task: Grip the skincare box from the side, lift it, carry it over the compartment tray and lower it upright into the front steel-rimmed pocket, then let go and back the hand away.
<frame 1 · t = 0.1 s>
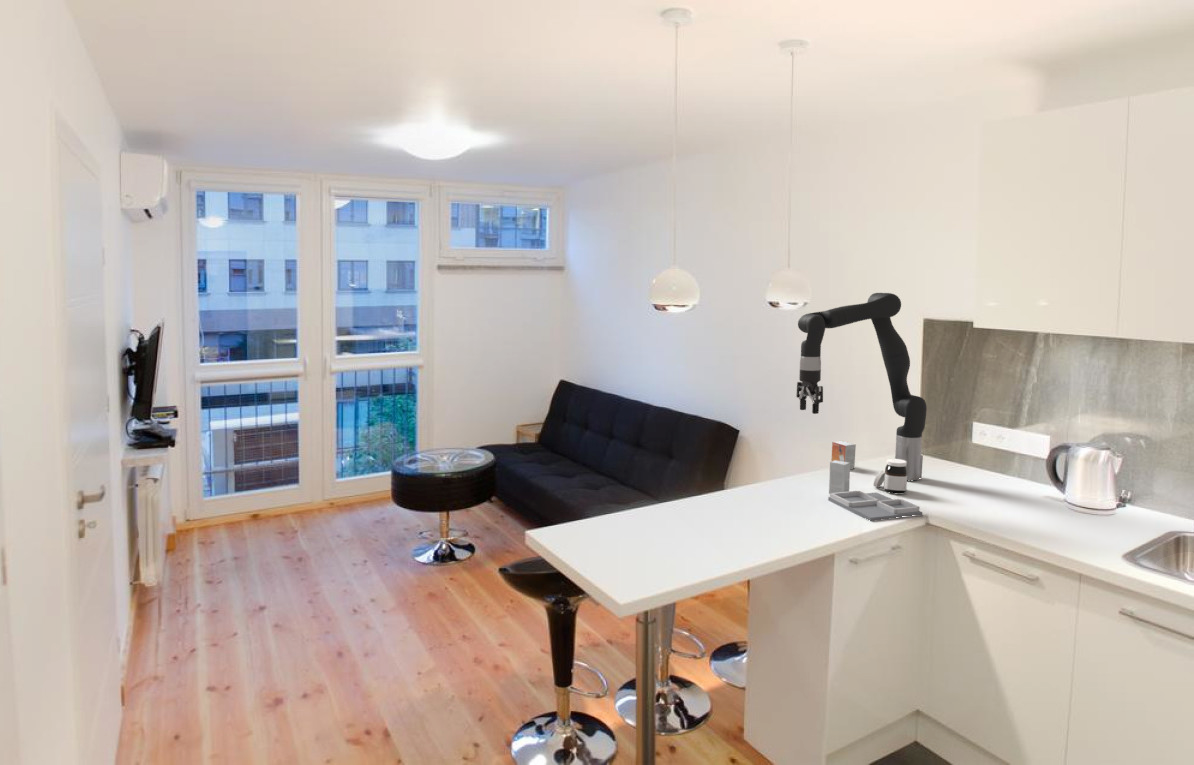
hand: (809, 411, 274), 29 cm above the countertop, tool pointing down, fingers open, 8 cm apart
skincare box: (838, 494, 270), on the countertop
small box: (842, 468, 308), on the countertop
compartment tray: (873, 507, 254), on the countertop
spread jar: (889, 490, 275), on the countertop
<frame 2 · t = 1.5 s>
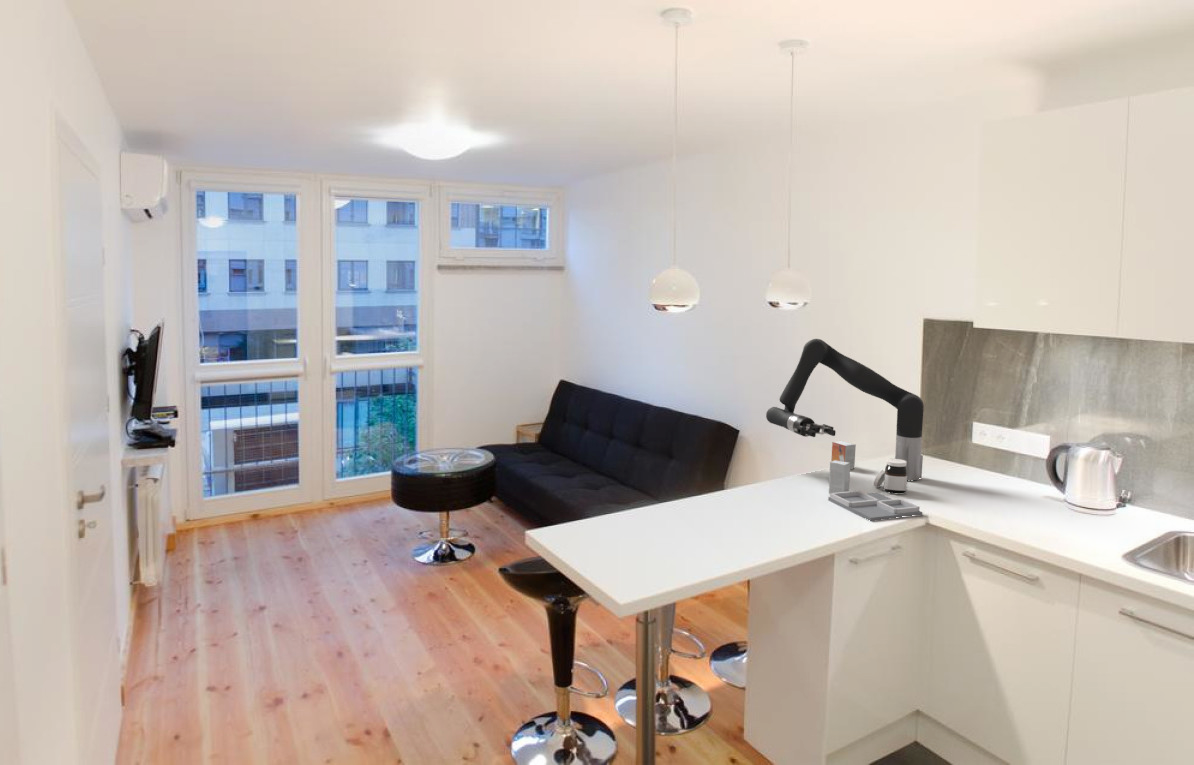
hand: (824, 433, 277), 20 cm above the countertop, tool horizontal, fingers open, 8 cm apart
nothing on the countertop moved.
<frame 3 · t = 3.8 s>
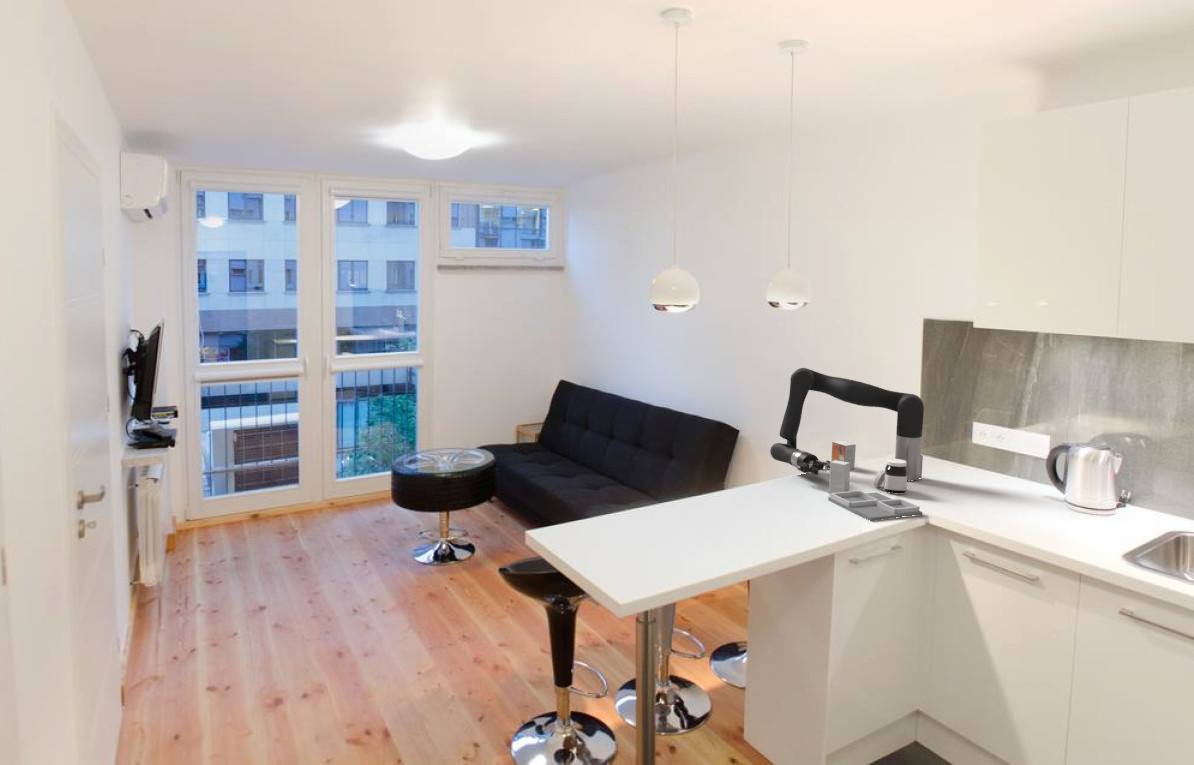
hand: (827, 471, 276), 7 cm above the countertop, tool horizontal, fingers open, 8 cm apart
nothing on the countertop moved.
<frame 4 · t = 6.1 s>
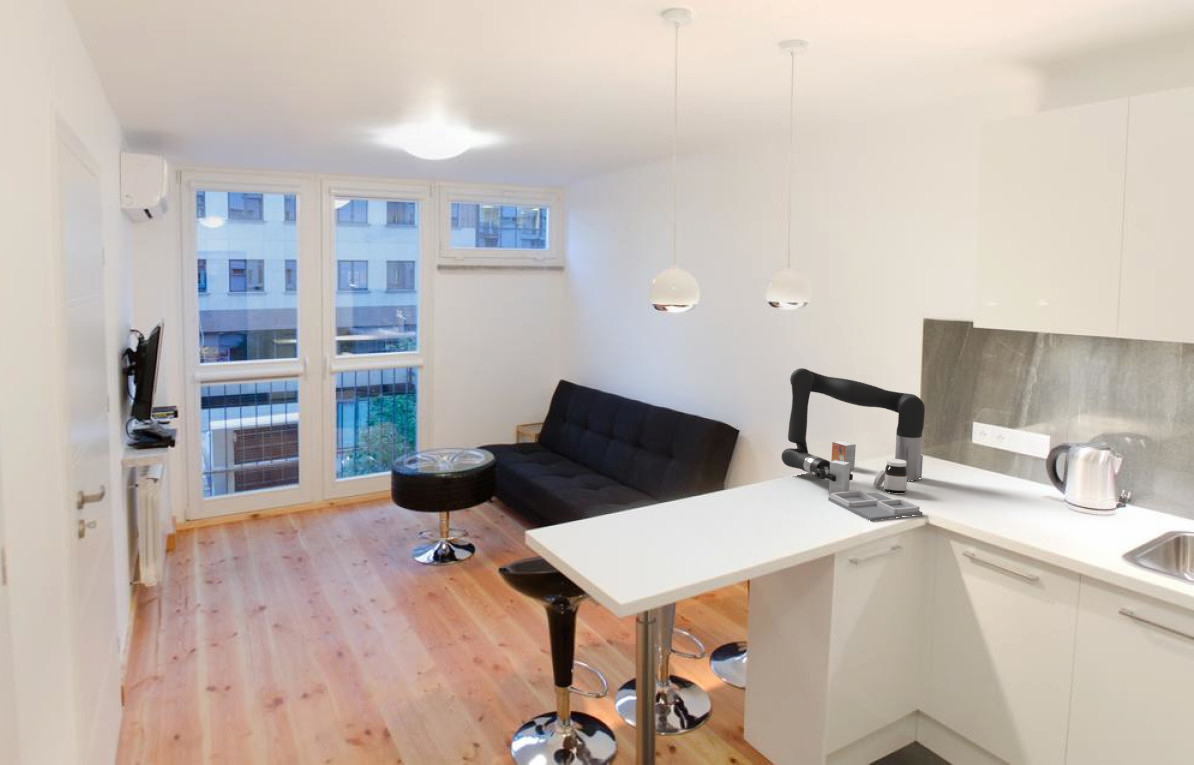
hand: (843, 478, 267), 7 cm above the countertop, tool horizontal, fingers closed on skincare box, 6 cm apart
skincare box: (838, 494, 270), on the countertop, touching gripper
everything else where it was.
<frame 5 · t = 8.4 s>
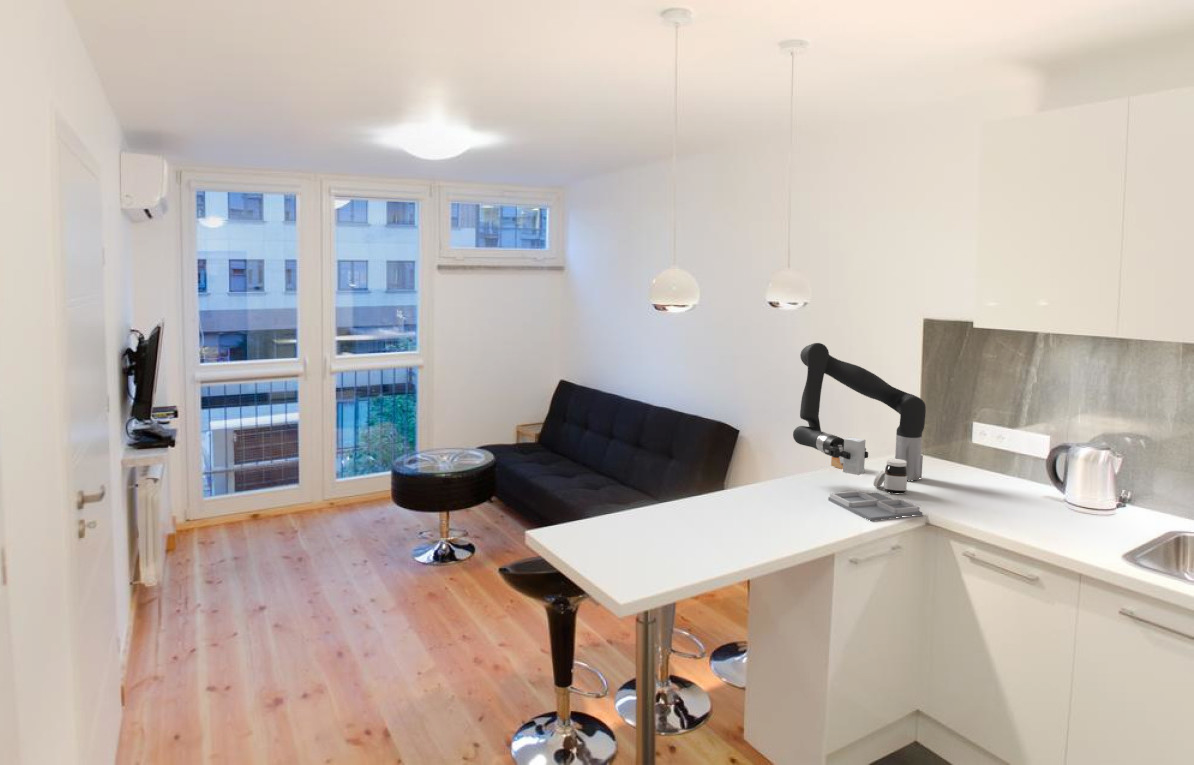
hand: (858, 455, 254), 18 cm above the countertop, tool horizontal, fingers closed on skincare box, 6 cm apart
skincare box: (853, 473, 257), point 11 cm above the countertop, touching gripper
everything else where it was.
when the fingers open (8 cm above the countertop, at t = 11.2 s): skincare box stays where it is, resting on compartment tray.
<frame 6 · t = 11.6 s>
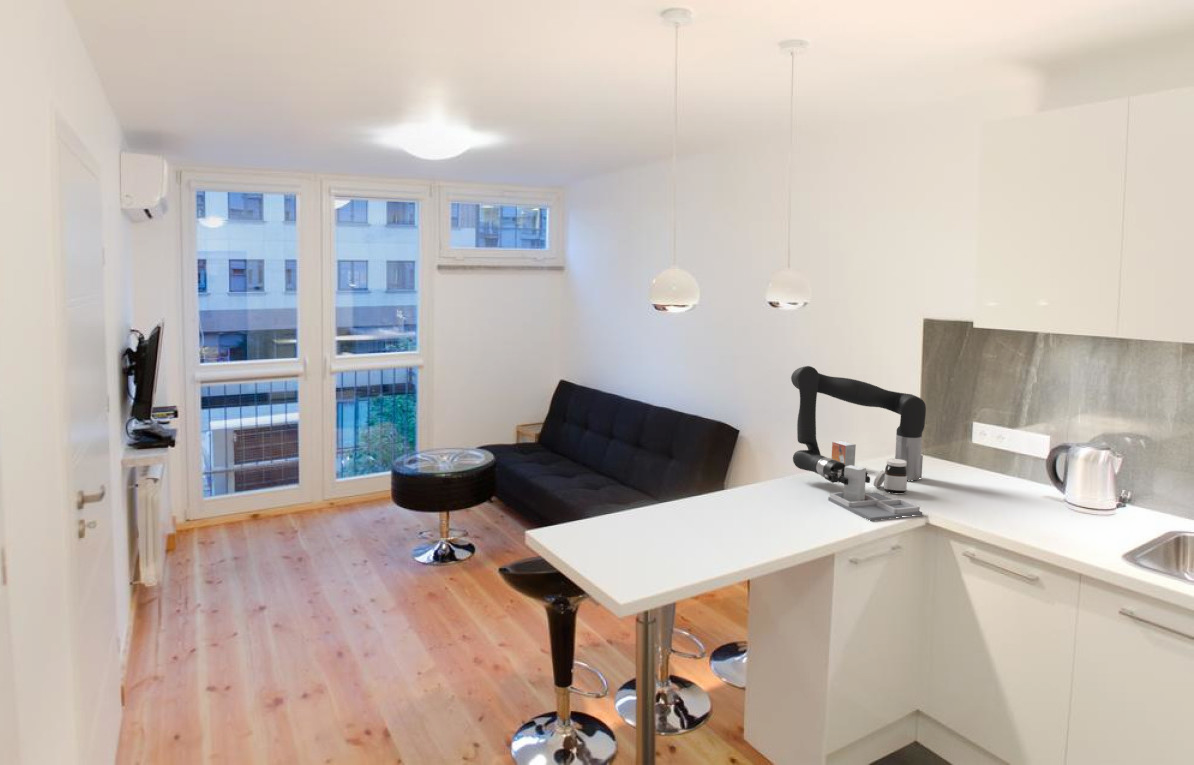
hand: (858, 481, 255), 9 cm above the countertop, tool horizontal, fingers open, 8 cm apart
skincare box: (853, 501, 258), point 1 cm above the countertop, touching compartment tray
everything else where it was.
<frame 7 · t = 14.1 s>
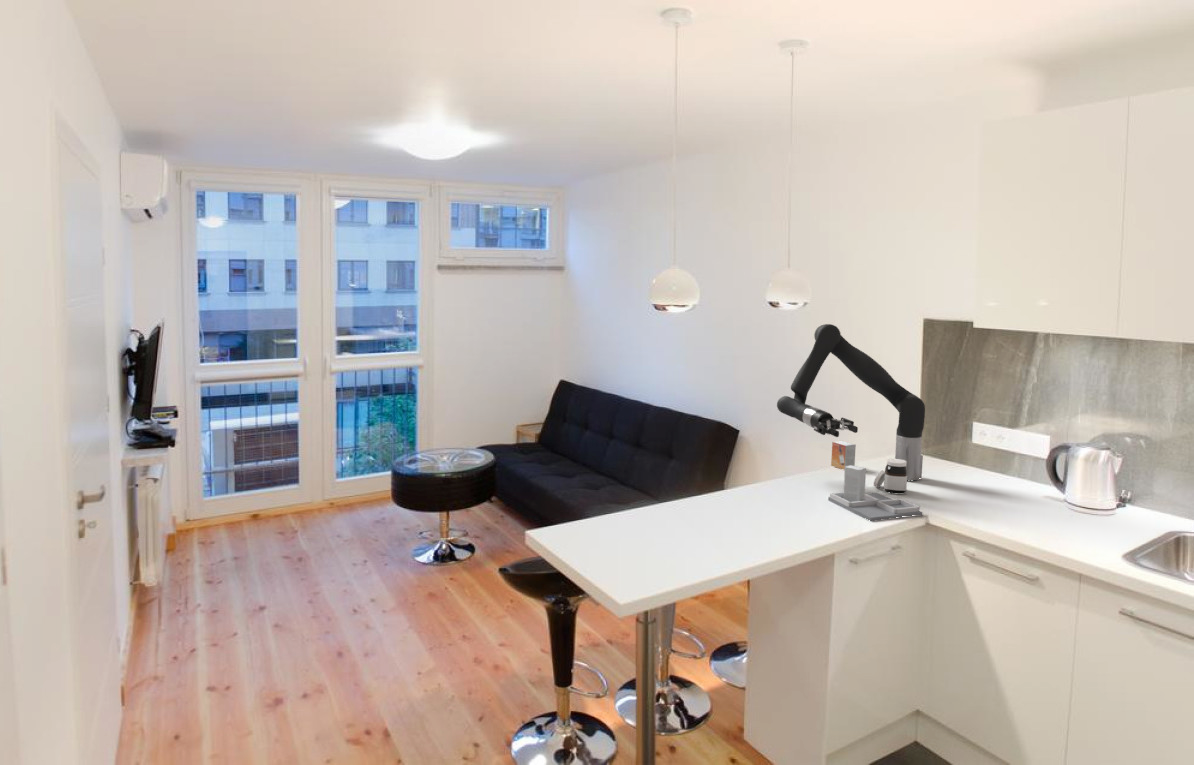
hand: (847, 432, 265), 23 cm above the countertop, tool horizontal, fingers open, 8 cm apart
nothing on the countertop moved.
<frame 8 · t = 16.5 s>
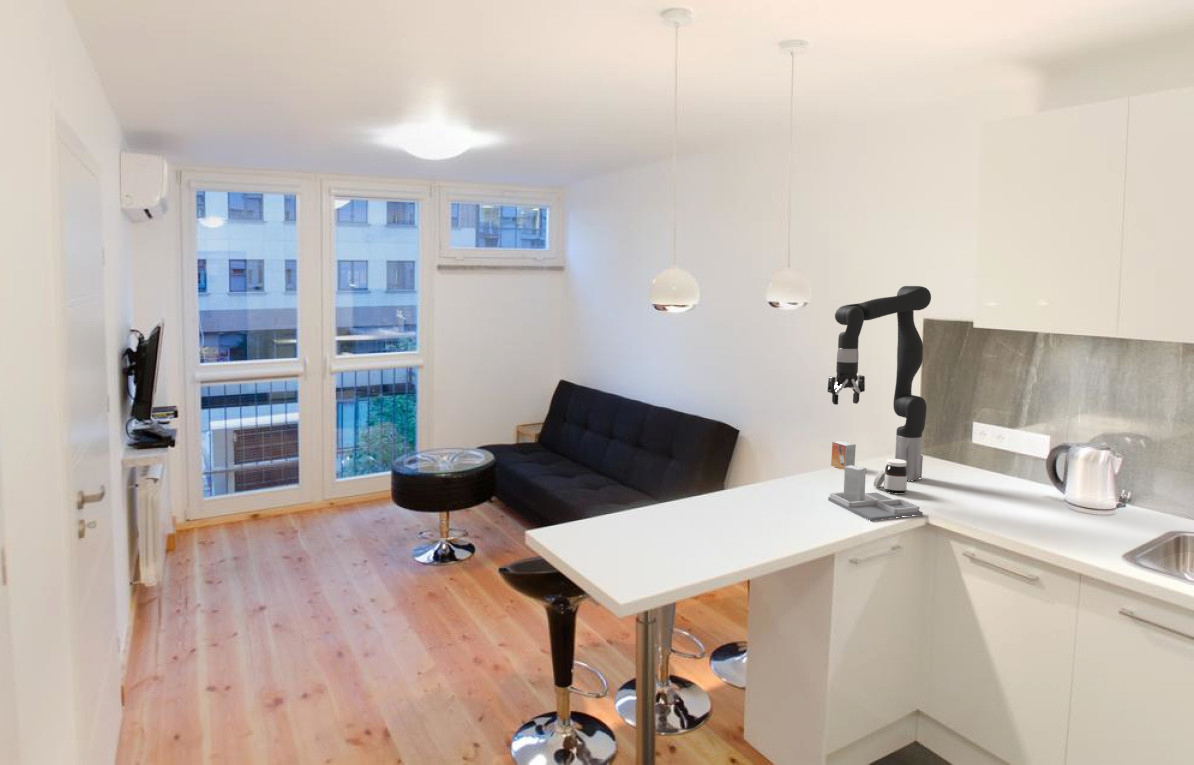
hand: (845, 403, 274), 32 cm above the countertop, tool pointing down, fingers open, 8 cm apart
nothing on the countertop moved.
at the end: skincare box inside the target area on the compartment tray (0.1 cm from its centre), point 1.0 cm above the compartment tray's base; skincare box tilted 0°; the gripper is holding nothing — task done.
